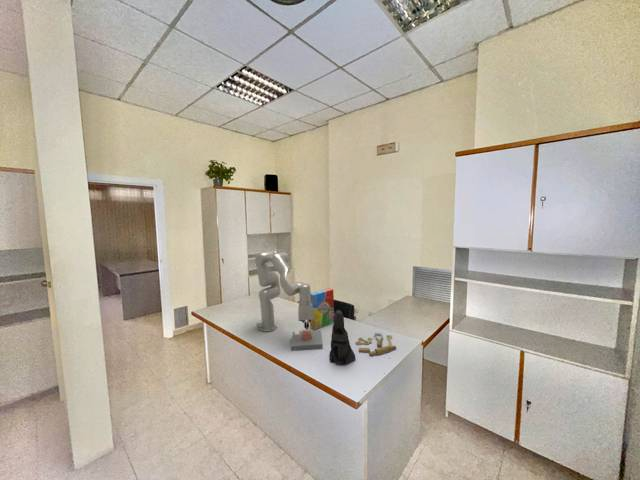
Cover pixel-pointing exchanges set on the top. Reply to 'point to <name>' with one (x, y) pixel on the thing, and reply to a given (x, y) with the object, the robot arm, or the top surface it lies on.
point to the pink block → (306, 334)
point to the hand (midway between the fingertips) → (306, 328)
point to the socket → (306, 341)
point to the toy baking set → (379, 344)
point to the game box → (322, 308)
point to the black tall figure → (340, 342)
